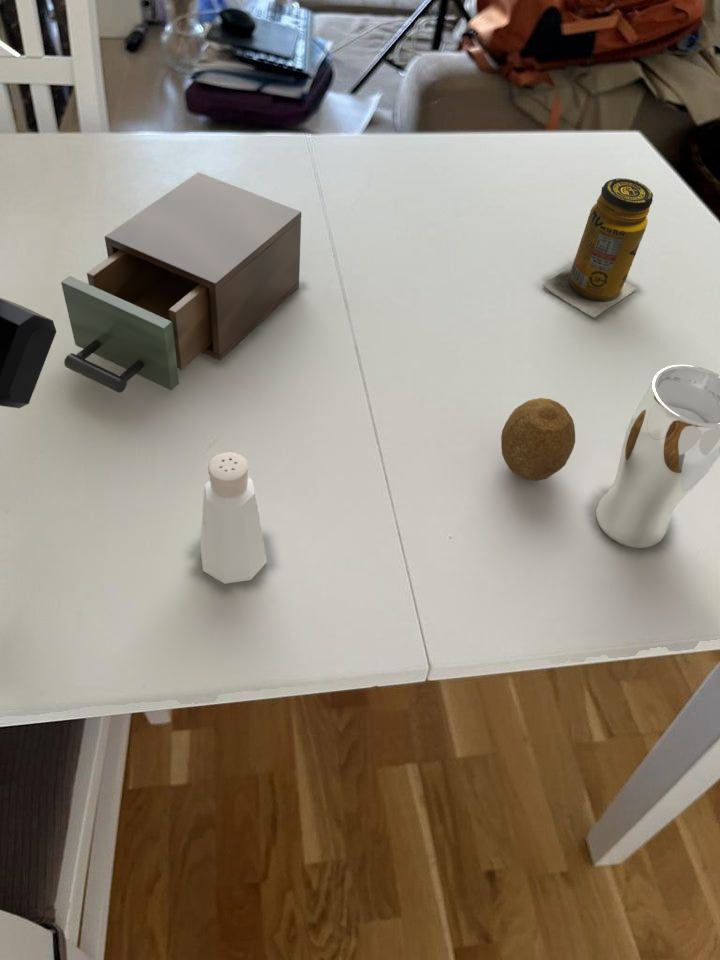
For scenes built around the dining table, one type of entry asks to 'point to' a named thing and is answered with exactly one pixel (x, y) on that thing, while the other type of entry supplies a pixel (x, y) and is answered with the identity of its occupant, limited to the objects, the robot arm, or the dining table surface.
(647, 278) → the dining table surface
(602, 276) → the condiment
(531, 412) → the fruit
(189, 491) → the dining table surface
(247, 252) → the cabinet
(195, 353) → the drawer
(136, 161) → the dining table surface
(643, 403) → the beer glass
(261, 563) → the salt shaker
